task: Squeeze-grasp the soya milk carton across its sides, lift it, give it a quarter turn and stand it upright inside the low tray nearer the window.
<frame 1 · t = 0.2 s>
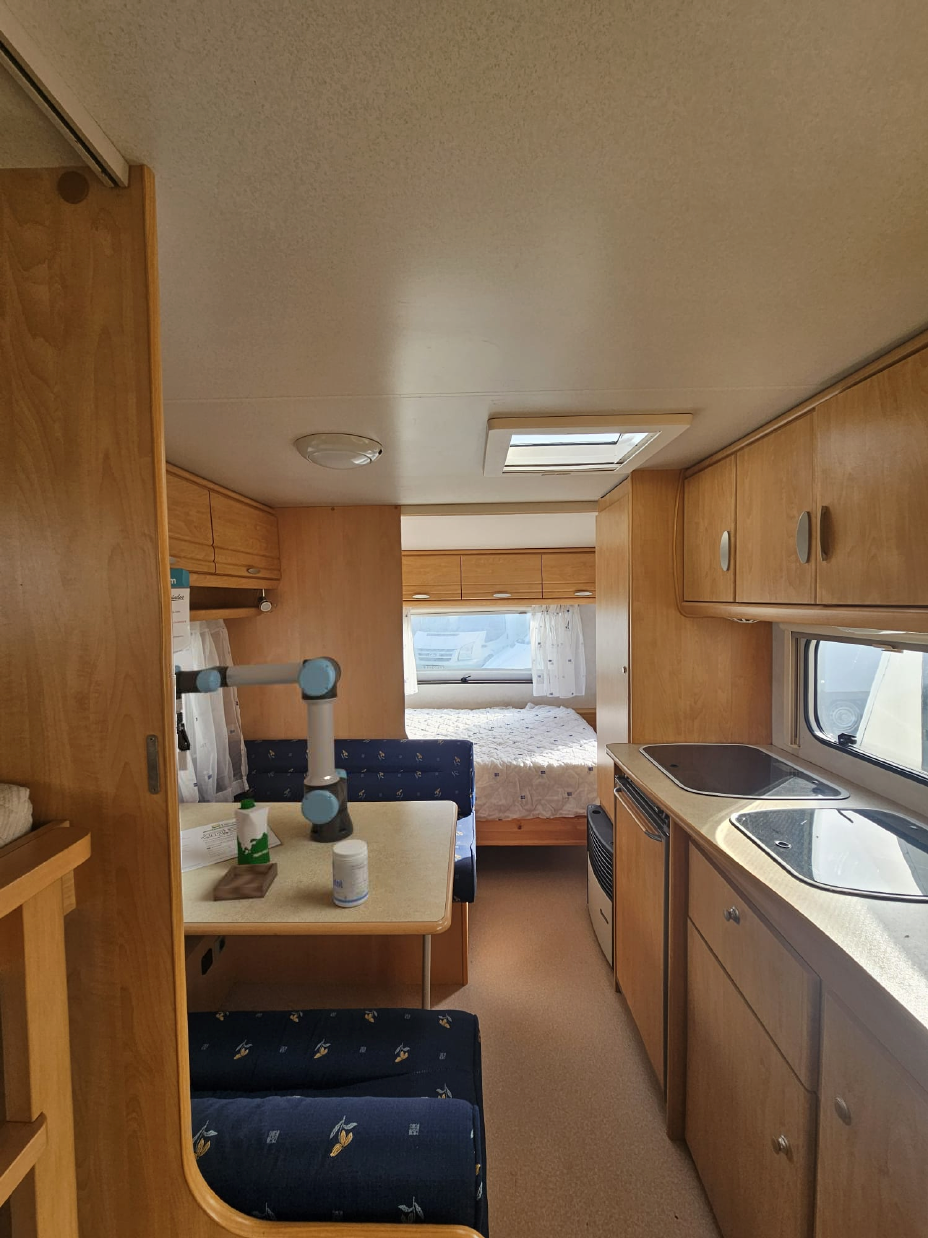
hand: (172, 776, 172), 28 cm above the table, fingers open, 13 cm apart
soya milk: (254, 864, 167), on the table
supplement tub: (351, 900, 144), on the table
tray: (247, 887, 153), on the table
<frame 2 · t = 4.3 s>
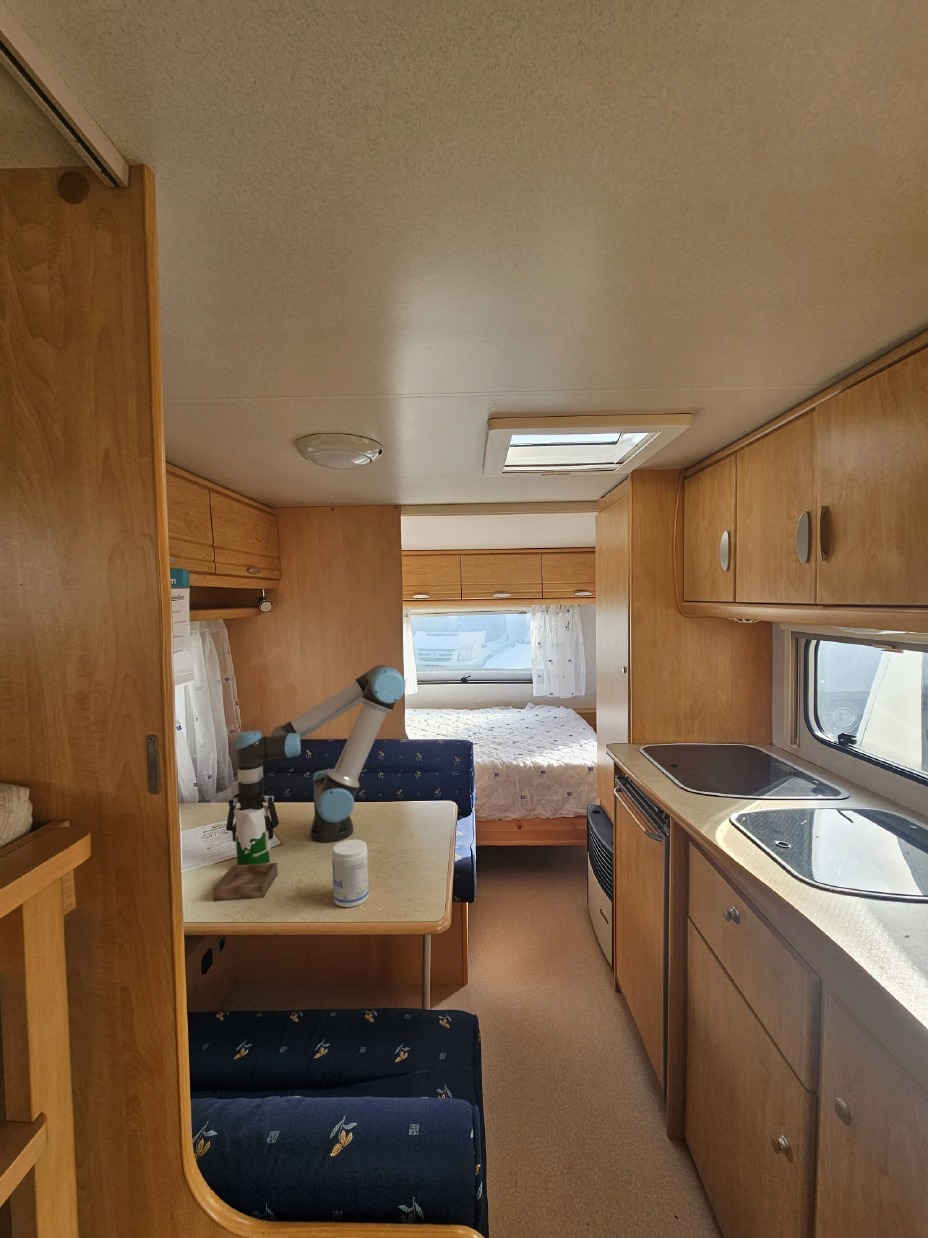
hand: (253, 850, 167), 4 cm above the table, fingers closed on soya milk, 8 cm apart
soya milk: (253, 864, 167), on the table, touching gripper, hand
everything else where it was.
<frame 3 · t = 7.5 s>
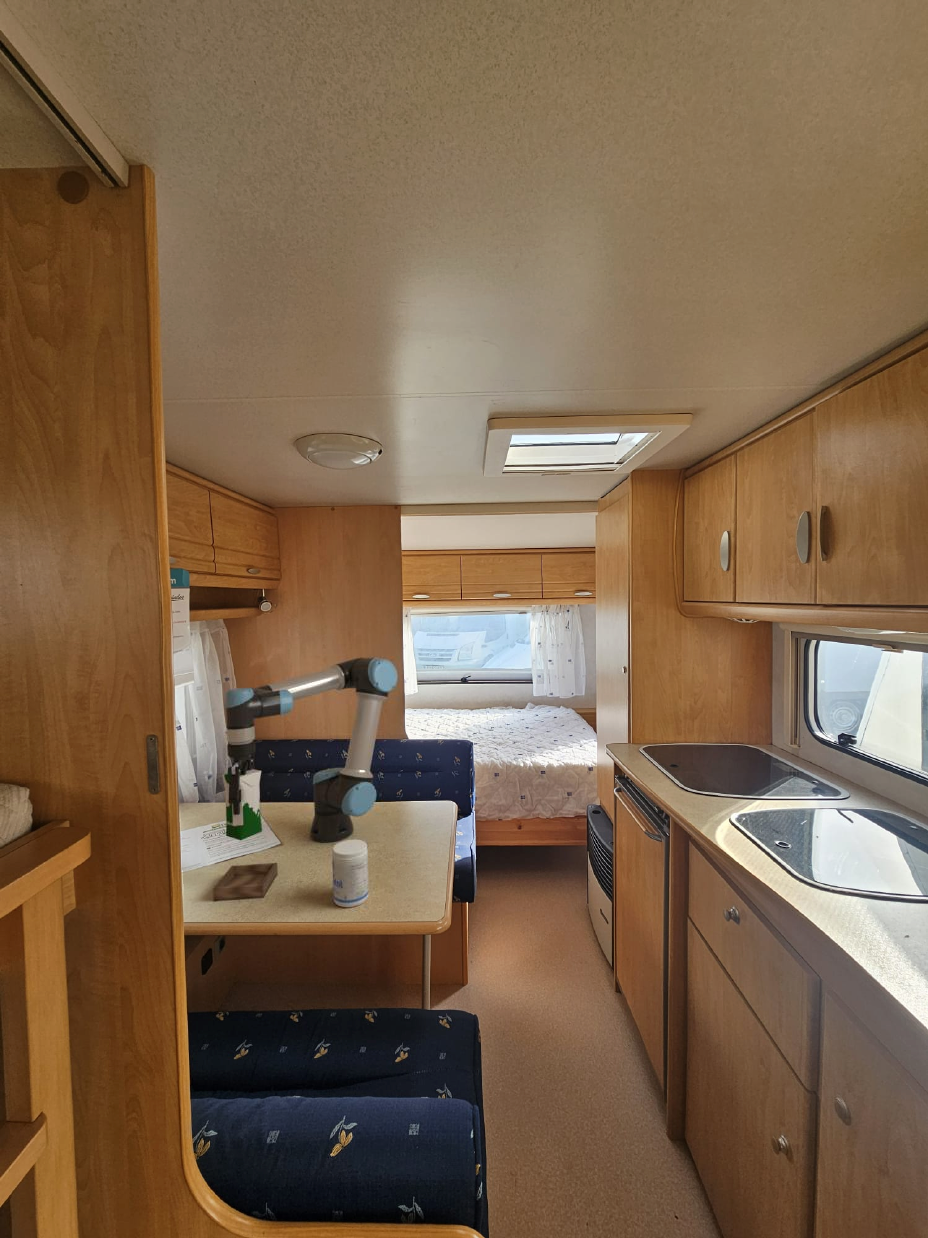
hand: (244, 818, 152), 20 cm above the table, fingers closed on soya milk, 8 cm apart
soya milk: (244, 834, 152), point 16 cm above the table, touching gripper, hand
everything else where it was.
when the fingers open (7 cm above the table, at t = 10.6 s): soya milk drops 2 cm, resting on tray.
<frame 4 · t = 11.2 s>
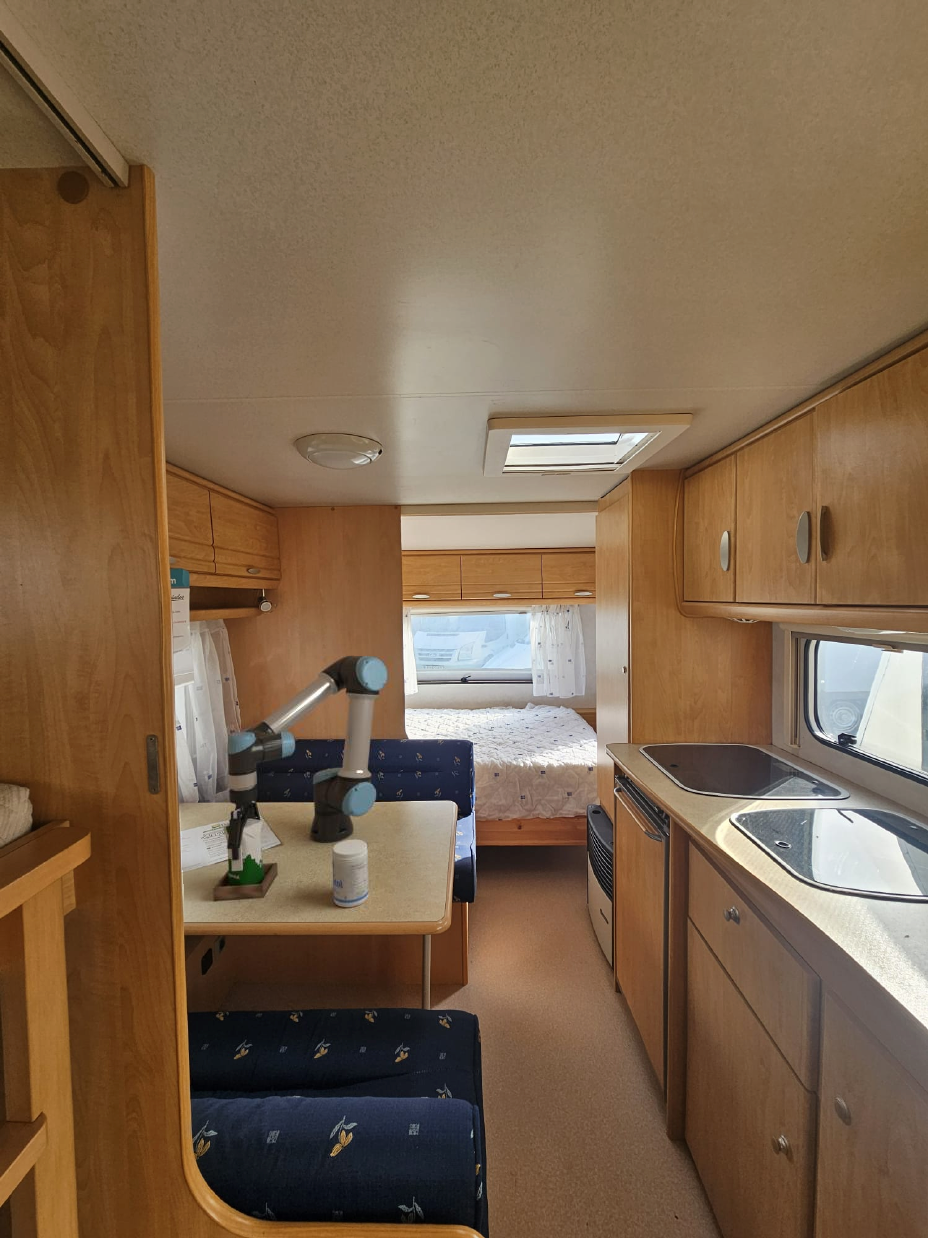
hand: (246, 859, 153), 8 cm above the table, fingers open, 13 cm apart
soya milk: (247, 885, 152), point 1 cm above the table, touching tray
everything else where it was.
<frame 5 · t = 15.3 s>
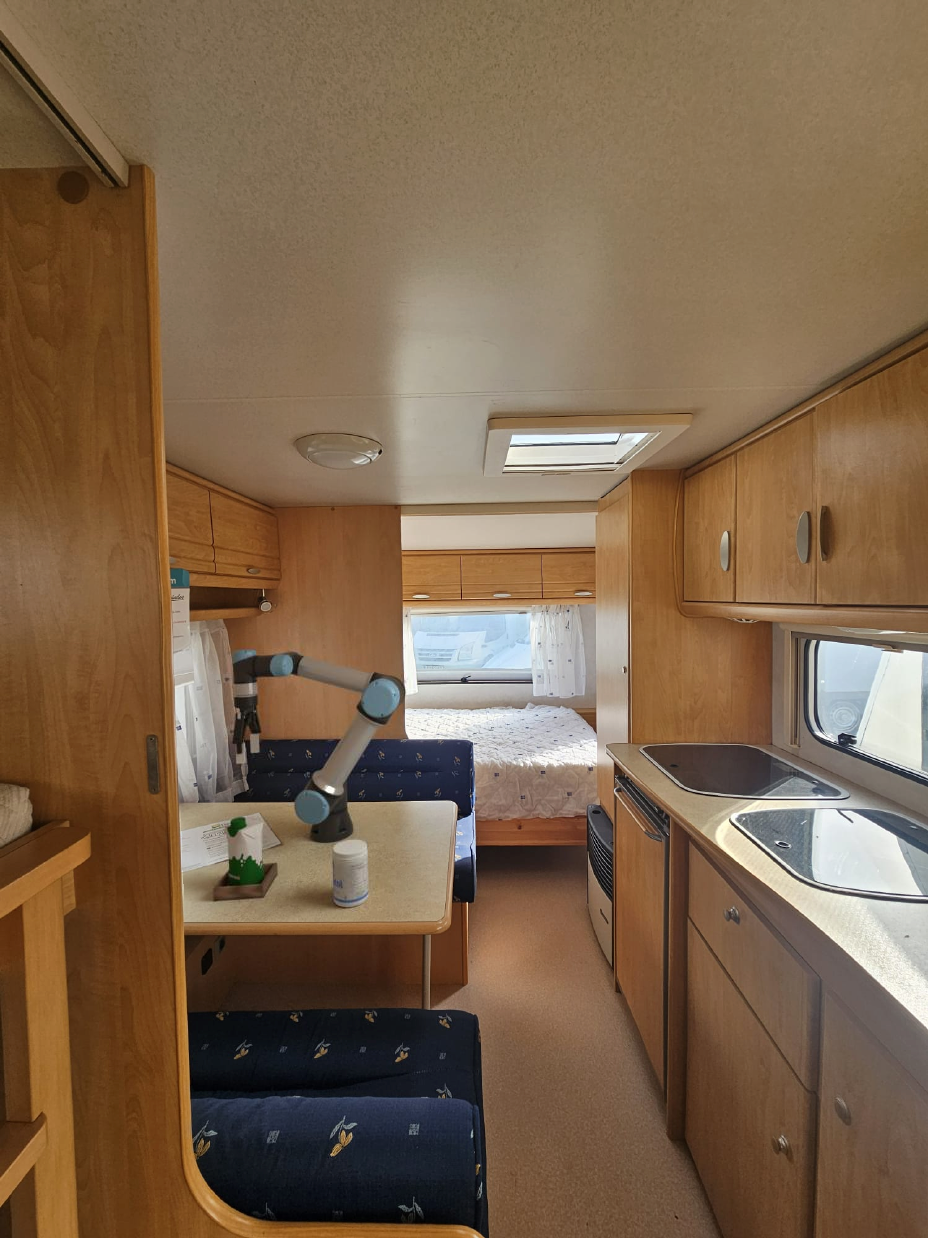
hand: (248, 757, 177), 32 cm above the table, fingers open, 13 cm apart
nothing on the table moved.
at the end: soya milk inside the target area on the tray (0.1 cm from its centre), point 0.4 cm above the tray's base; soya milk tilted 0°; the gripper is holding nothing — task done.
